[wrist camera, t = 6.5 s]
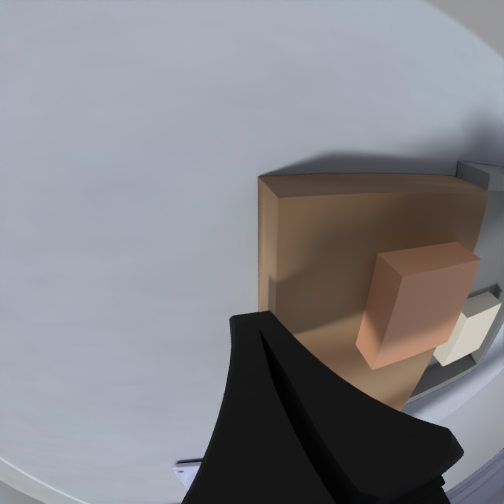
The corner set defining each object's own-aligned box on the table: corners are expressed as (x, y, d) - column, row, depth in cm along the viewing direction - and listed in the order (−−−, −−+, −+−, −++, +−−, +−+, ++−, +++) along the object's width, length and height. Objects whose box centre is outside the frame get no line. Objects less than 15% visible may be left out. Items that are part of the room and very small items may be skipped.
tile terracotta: (429, 322, 13) (447, 342, 12) (355, 344, 12) (372, 370, 11) (456, 241, 11) (481, 259, 10) (377, 253, 10) (402, 276, 9)
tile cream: (442, 366, 17) (431, 352, 19) (478, 348, 18) (467, 336, 20) (467, 318, 15) (452, 303, 17) (501, 302, 16) (488, 291, 17)
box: (464, 352, 22) (478, 367, 20) (390, 384, 20) (403, 405, 18) (528, 171, 14) (551, 183, 12) (458, 160, 12) (490, 174, 10)
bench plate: (386, 387, 20) (401, 411, 18) (258, 422, 18) (267, 453, 16) (452, 175, 12) (488, 192, 10) (257, 176, 11) (278, 197, 9)
